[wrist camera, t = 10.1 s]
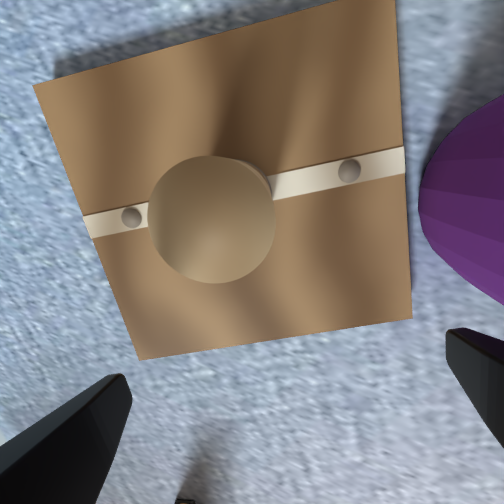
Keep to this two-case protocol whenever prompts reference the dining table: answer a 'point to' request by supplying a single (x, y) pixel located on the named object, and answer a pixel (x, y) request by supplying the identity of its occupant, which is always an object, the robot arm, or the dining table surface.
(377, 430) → the dining table surface
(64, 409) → the robot arm
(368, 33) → the board
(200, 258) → the tan wooden cylinder
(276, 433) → the dining table surface
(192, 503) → the ammunition clip
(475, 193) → the mug
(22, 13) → the dining table surface
